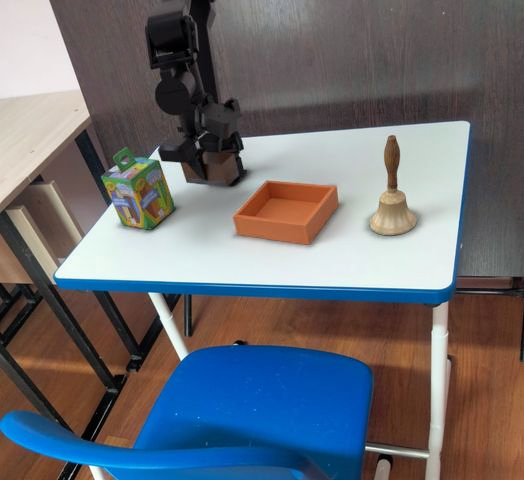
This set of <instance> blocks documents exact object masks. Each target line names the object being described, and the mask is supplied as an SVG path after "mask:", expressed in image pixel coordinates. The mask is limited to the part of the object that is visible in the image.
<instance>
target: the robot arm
mask: <svg viewBox="0 0 524 480" xmlns="http://www.w3.org/2000/svg"><path fill="white" fill-rule="evenodd" d="M217 2H218V1H217V0H161V1H160V5H158V6H156V7H155V8H153V9H152V10H151V11H150V12H149V14H148V16H147V17H146V24H145V25H144V34H145V42H146V48H147V49H146V50H147V55H148V62H149V63H148V64H149V68H150V70H151V71H153V70H158V69H159V76H160V79H159V81H158V83H157V85H156V87H155V90H154V99H155V103H156V104H157V106H158V107H159V109H160V110H161V111H162V112H163V113H165V114H167V115H170V116H177V117H178V119H179V124H178V125H177V126H176V129H177V132H178V133H183V134H184V136H182V137H181V136H169V137H168V138H167V139H166V140H165V141H163V142H162V143H161V144H159V146H158V147H157V153H158V155H159V158H160V162H164V163H165V162H166V163H178V164H180V163H186V164H187V165H188V166H189V167H190V168H191V169H192V170H193V171H194V172H195V173H196V174H197V175H198V176H199V178H200V179H201V180H203V181H206V180H207V174H206V169H205V165H204V161H203V154H204V152H217V153H234V156H235V160H236V164H237V168H238V172H239V176H238V177H237V178H236V179H235V180H234V181H233V182H232V183H231V184H230V185H229V186H228V187H230V186H231V187H234V186H235V185H236V184H237V183H239V182H240V180H241V179H243V178H244V177H245V175H247V173H248V170H247V169H245V168H244V164H243V160H242V156H240V154H241V152H243V151H244V150H245V146H244V142H243V139H242V136H241V134H240V132H239V130H238V126H239V125H238V124H239V121H240V119H242V118H243V114H242V113H241V111H242V110H241V109H242V108H241V105H240V103H239V100H238V99H237V98H234V97H232V96H231V97H229V98H228V99H227V100H226V101H225V102H222V95H221V90H220V89H221V88H220V83H219V77H218V76H219V75H218V69H217V64H216V56H215V50H214V49H215V48H214V43H213V38H212V27H213V24H214V22H215V19H216V16H217V11H216V10H217V9H216V3H217ZM157 55H158V56H157Z"/></svg>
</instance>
